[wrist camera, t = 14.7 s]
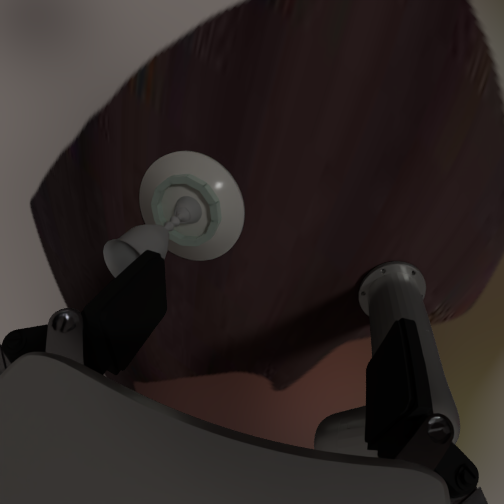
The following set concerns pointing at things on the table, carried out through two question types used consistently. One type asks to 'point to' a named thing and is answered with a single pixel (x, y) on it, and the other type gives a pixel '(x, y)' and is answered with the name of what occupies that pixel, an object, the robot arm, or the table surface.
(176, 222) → the chalice
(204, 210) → the plate
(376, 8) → the table surface
